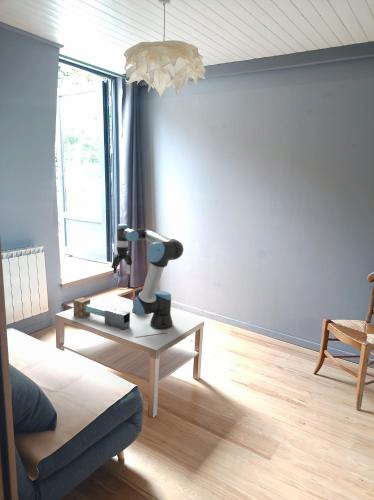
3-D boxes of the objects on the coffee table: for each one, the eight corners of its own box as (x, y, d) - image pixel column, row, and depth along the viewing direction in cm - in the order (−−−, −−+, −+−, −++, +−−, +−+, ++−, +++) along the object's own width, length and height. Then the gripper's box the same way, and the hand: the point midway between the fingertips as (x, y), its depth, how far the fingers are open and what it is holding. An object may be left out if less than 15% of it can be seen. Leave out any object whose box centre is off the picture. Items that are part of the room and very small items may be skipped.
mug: (136, 314, 270) (137, 300, 268) (128, 311, 276) (129, 297, 274) (149, 310, 279) (149, 297, 277) (141, 307, 285) (141, 294, 283)
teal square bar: (114, 317, 253) (114, 308, 251) (108, 319, 248) (108, 311, 246) (83, 308, 266) (83, 300, 265) (77, 310, 261) (77, 302, 260)
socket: (90, 314, 265) (90, 299, 263) (82, 318, 258) (81, 302, 256) (82, 312, 269) (81, 297, 267) (73, 315, 262) (73, 300, 260)
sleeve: (129, 327, 247) (130, 312, 245) (123, 330, 242) (123, 315, 240) (111, 321, 255) (111, 307, 253) (104, 324, 249) (104, 310, 247)
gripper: (129, 243, 273) (128, 271, 277) (106, 248, 252) (106, 278, 256) (137, 244, 270) (136, 272, 274) (114, 249, 248) (114, 280, 252)
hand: (122, 275), depth 265 cm, fingers open, 13 cm apart
